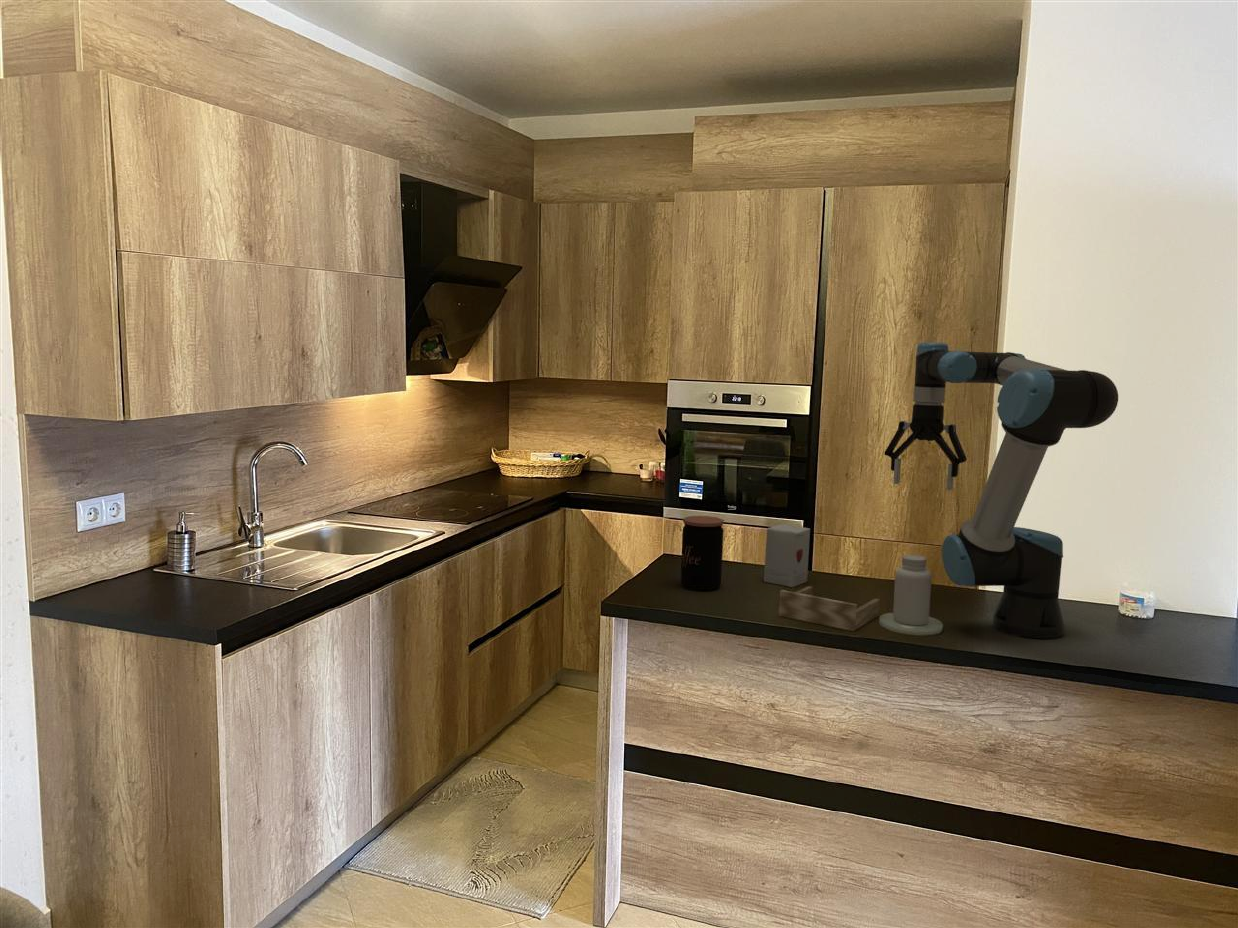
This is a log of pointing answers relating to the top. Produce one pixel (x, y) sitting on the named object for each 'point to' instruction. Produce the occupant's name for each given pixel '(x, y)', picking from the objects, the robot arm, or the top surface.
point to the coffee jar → (702, 553)
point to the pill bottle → (912, 591)
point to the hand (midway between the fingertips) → (922, 486)
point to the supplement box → (787, 555)
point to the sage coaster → (911, 626)
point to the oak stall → (826, 610)
